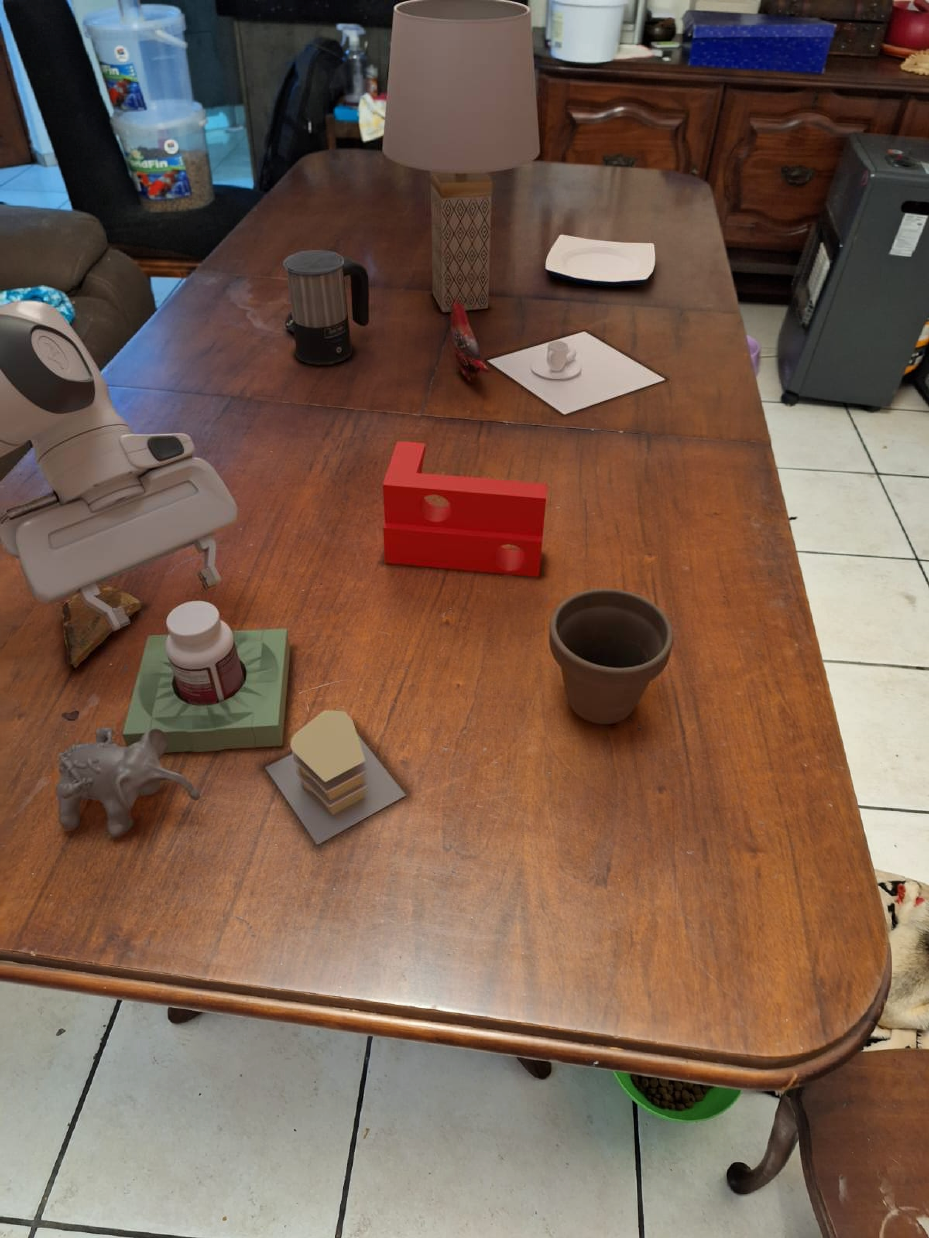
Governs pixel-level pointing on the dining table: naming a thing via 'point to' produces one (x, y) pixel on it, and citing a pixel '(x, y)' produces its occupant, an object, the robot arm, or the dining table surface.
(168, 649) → the pill bottle
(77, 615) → the shard
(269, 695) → the socket pad
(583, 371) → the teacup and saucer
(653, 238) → the dining table surface
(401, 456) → the bracket
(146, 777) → the gray elephant figurine
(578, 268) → the plate
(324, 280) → the milk frother
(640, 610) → the flower pot
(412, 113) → the lamp
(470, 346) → the decorative bird figurine
